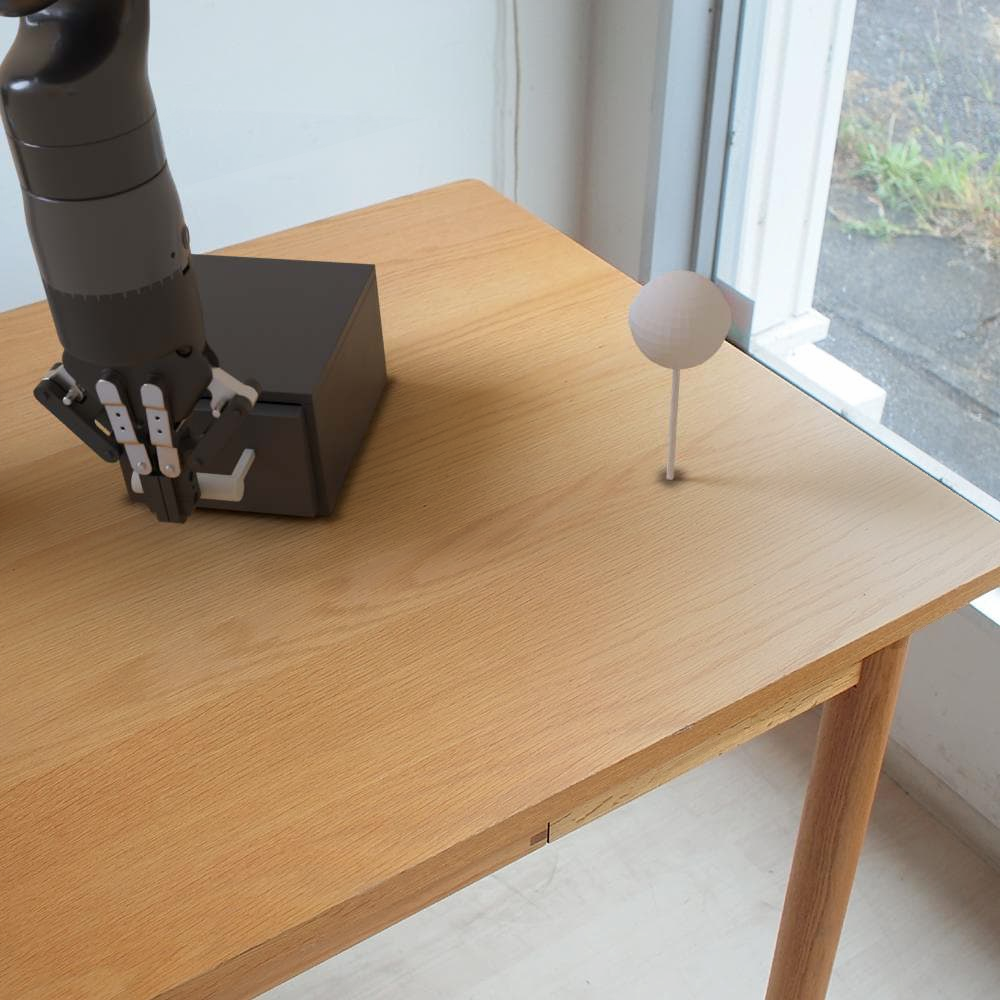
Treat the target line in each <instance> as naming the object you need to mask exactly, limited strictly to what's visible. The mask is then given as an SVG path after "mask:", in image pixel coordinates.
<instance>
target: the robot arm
mask: <svg viewBox="0 0 1000 1000" xmlns="http://www.w3.org/2000/svg"><path fill="white" fill-rule="evenodd" d="M0 17H3V18H19V21H18V22H19V24H18V28H17V33H16V35H15V38H14V41H13V42H12V44H11V46H10V47H9V50H8V51H7V53H5V56H4V58H3V60H2V61H1V63H0V118H1V123H2V125H3V129H4V134H5V136H6V140H7V144H8V147H9V151H10V154H11V157H12V161H13V164H14V168H15V171H16V175H17V178H18V182H19V187H20V191H21V195H22V203H23V211H24V212H23V213H24V218H25V219H24V220H25V224H26V228H27V233H28V236H29V237H28V238H29V240H30V244H31V247H32V252H33V255H34V257H35V258H34V259H35V261H36V265H37V268H38V271H39V275H40V279H41V282H42V285H43V289H44V292H45V296H46V300H47V303H48V306H49V309H50V310H49V311H50V313H51V317H52V321H53V324H54V327H55V331H56V335H57V338H58V341H59V343H60V345H61V347H62V348H63V351H62V354H61V361H60V362H58V361H57V362H55V363H54V364H52V366H51V367H50V369H49V370H48V371H47V373H46V374H45V375H44V376H43V377H42V378H41V380H40V381H39V383H38V384H37V385H36V387H35V388H34V389H33V392H32V393H33V397H34V398H35V400H37V402H38V403H39V404H41V405H42V406H43V408H45V409H46V410H47V411H49V413H51V415H53V416H54V417H55V418H56V419H57V420H59V422H61V423H62V424H63V425H64V426H66V428H67V429H69V431H71V433H73V434H74V435H75V436H76V437H77V438H78V439H79V440H81V441H82V442H83V443H84V444H85V445H86V446H87V447H88V448H89V449H90V450H92V451H93V452H94V453H95V454H96V455H97V456H98V457H100V458H101V460H103V461H104V462H106V463H109V464H116V463H117V462H119V460H121V461H124V462H126V463H129V464H131V466H132V468H133V470H134V471H135V472H137V473H138V474H139V478H140V482H141V486H142V490H143V493H144V497H145V501H146V502H145V505H146V506H147V508H148V510H149V511H150V512H151V513H154V514H155V515H156V519H157V521H158V522H159V523H166V524H167V523H169V524H170V523H171V524H180V525H184V524H185V523H186V522H187V521H188V518H189V517H192V515H193V514H194V512H195V510H196V508H197V507H196V506H197V504H198V503H199V501H200V497H201V491H200V488H199V483H198V478H197V474H196V471H199V472H203V471H205V470H207V468H208V467H209V466H210V465H211V463H212V462H213V461H214V459H215V458H216V457H217V456H218V454H219V453H220V452H221V451H222V449H223V448H224V447H225V446H226V444H227V443H228V442H229V440H230V439H231V438H232V437H233V435H234V434H235V433H236V432H237V430H238V429H239V428H240V426H241V425H242V424H243V423H244V421H245V420H246V419H247V417H248V415H249V414H250V412H251V410H252V408H253V407H254V405H255V403H256V401H257V400H258V398H259V396H260V394H261V392H262V386H261V384H260V383H259V382H258V381H257V380H255V379H253V378H246V379H244V380H243V381H242V382H240V381H238V380H237V379H235V378H234V377H232V376H231V375H229V374H228V373H226V372H225V371H223V370H222V369H220V368H219V365H220V362H219V357H218V355H217V353H216V351H215V350H214V349H213V347H212V346H211V345H210V343H209V342H208V340H207V338H206V335H205V328H204V315H203V309H202V304H201V299H200V294H199V289H198V284H197V279H196V274H195V269H194V264H193V260H192V255H191V254H192V250H191V246H190V243H191V237H190V230H189V227H188V226H187V224H186V221H185V217H184V211H183V207H182V206H183V205H182V202H181V199H180V195H179V191H178V188H177V186H176V183H175V181H174V177H173V175H172V171H171V168H170V165H169V162H168V158H167V154H166V149H165V143H164V139H163V134H162V130H161V125H160V119H159V115H158V110H157V104H156V101H155V97H154V93H153V87H152V85H151V81H150V76H149V46H150V35H151V34H150V32H151V31H150V30H151V0H0ZM206 389H209V391H210V392H211V394H212V400H211V402H210V406H211V408H212V410H213V411H212V415H213V416H214V419H213V420H212V421H211V423H210V424H209V425H208V427H207V428H206V429H205V431H204V432H203V434H201V435H197V436H194V432H193V425H192V421H193V417H194V407H195V406H196V404H197V403H198V401H199V400H200V398H201V397H202V395H203V394H204V392H205V391H206ZM96 421H97V423H99V425H101V426H102V428H104V429H105V430H106V431H107V432H108V433H109V435H108V434H107V433H106V432H105V431H104V430H102V428H101V427H99V426H98V425H97V423H96Z"/></svg>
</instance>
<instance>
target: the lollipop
mask: <svg viewBox="0 0 1000 1000" xmlns="http://www.w3.org/2000/svg"><path fill="white" fill-rule="evenodd" d="M627 313H628V314H627V324H628V327H629V329H630V332H631V335H632V338H633V341H634V343H635V345H636V347H637V349H638V350H639V352H641V353H642V354H643V355H644V357H646V358H647V360H649V361H650V362H652V363H653V364H656V365H658V366H659V367H662V368H665V369H670V370H672V374H671V375H672V376H671V378H672V379H671V391H670V392H671V393H670V394H671V395H670V410H669V426H668V428H669V429H668V443H667V445H668V446H667V460H666V461H667V463H666V480H669V481H673V480H674V477H675V476H674V475H675V474H674V473H675V460H676V445H677V428H678V411H679V397H680V394H679V393H680V379H681V370H688V369H692V368H695V367H698V366H700V365H702V364H704V363H706V362H707V361H709V360H710V359H711V358H713V357H714V356H715V355H716V354H717V352H718V351H719V350H720V349H721V348H722V345H723V344H724V342H725V340H726V337H727V335H728V333H729V332H730V330H731V328H732V325H733V320H732V318H733V317H732V310H731V307H730V306H729V303H728V302H727V299H726V298H725V295H724V294H723V293H722V291H721V289H720V288H719V287H718V286H717V285H716V284H715V283H714V282H713V281H712V280H711V279H709V278H708V277H706V276H704V275H702V274H700V273H698V272H695V271H691V270H685V269H684V270H682V269H680V270H679V269H677V270H669V271H666V272H664V273H661V274H658V275H656V276H655V277H653V278H651V279H650V280H649V281H648V282H647V283H646V284H645V285H643V286H642V288H641V289H640V290H639V292H638V293H637V295H636V296H635V297H634V299H633V300H632V301H631V303H630V304H629V308H628V312H627Z"/></svg>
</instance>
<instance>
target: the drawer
mask: <svg viewBox="0 0 1000 1000" xmlns="http://www.w3.org/2000/svg"><path fill="white" fill-rule="evenodd" d="M210 402H211V399H200V400H199V401H198V403H197V404H196V406H195V407H194V417H193V421H192V425H193V432H194V436H197V435H201V434H203V432H204V431H205V429H206V428H207V427H208V425H209V424H210V423H211V421H212V420H213V419H214V416H213V415H212V411H213V410H212V408H211V406H210ZM284 404H285V405H278V404H265V403H255V405H254V407H253V408H252V410H251V412H250V414H249V415H248V417H247V419H246V420H245V421H244V423H243V424H242V425H241V426H240V428H239V429H238V430H237V432H236V433H235V434H234V435H233V437H232V438H231V439H230V440H229V442H228V443H227V444H226V446H225V447H224V448H223V449H222V451H221V452H220V453H219V454H218V456H217V457H216V458H215V459H214V461H213V462H212V463H211V465H210V466H209V467H208V468H207V470H205V471H203V472H199V471H196V474H197V478H198V483H199V488H200V491H201V497H200V501H199V503H198V504H197V506H196V508H208V509H216V510H217V509H218V510H230V511H240V512H251V513H263V514H275V515H287V516H298V517H310V518H315V517H316V515H315V514H316V512H317V510H318V508H319V500H318V493H317V487H316V481H315V475H314V468H313V462H312V456H311V450H310V443H309V437H308V431H307V425H306V418H305V412H304V407H303V406H301V404H296V403H284ZM118 462H119V465H120V470H121V473H122V476H123V480H124V484H125V487H126V491H127V495H128V498H129V501H130V502H138V503H146V501H145V497H144V493H143V490H142V486H141V482H140V478H139V474H138V473H137V472H135V471H134V470H133V468H132V466H131V464H129V463H126V462H124V461H121V460H118Z"/></svg>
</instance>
